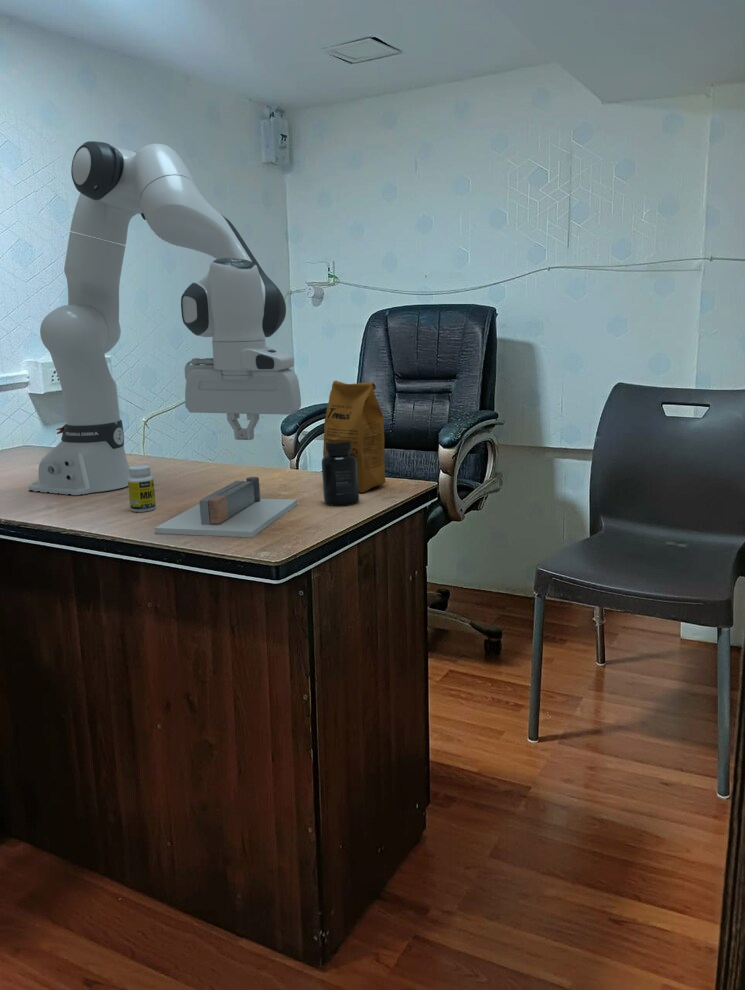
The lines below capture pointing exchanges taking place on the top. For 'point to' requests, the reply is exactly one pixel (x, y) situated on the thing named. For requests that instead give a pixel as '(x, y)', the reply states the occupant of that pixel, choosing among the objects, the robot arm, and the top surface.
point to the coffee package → (358, 429)
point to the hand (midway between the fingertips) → (244, 439)
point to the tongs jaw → (231, 502)
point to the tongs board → (236, 525)
